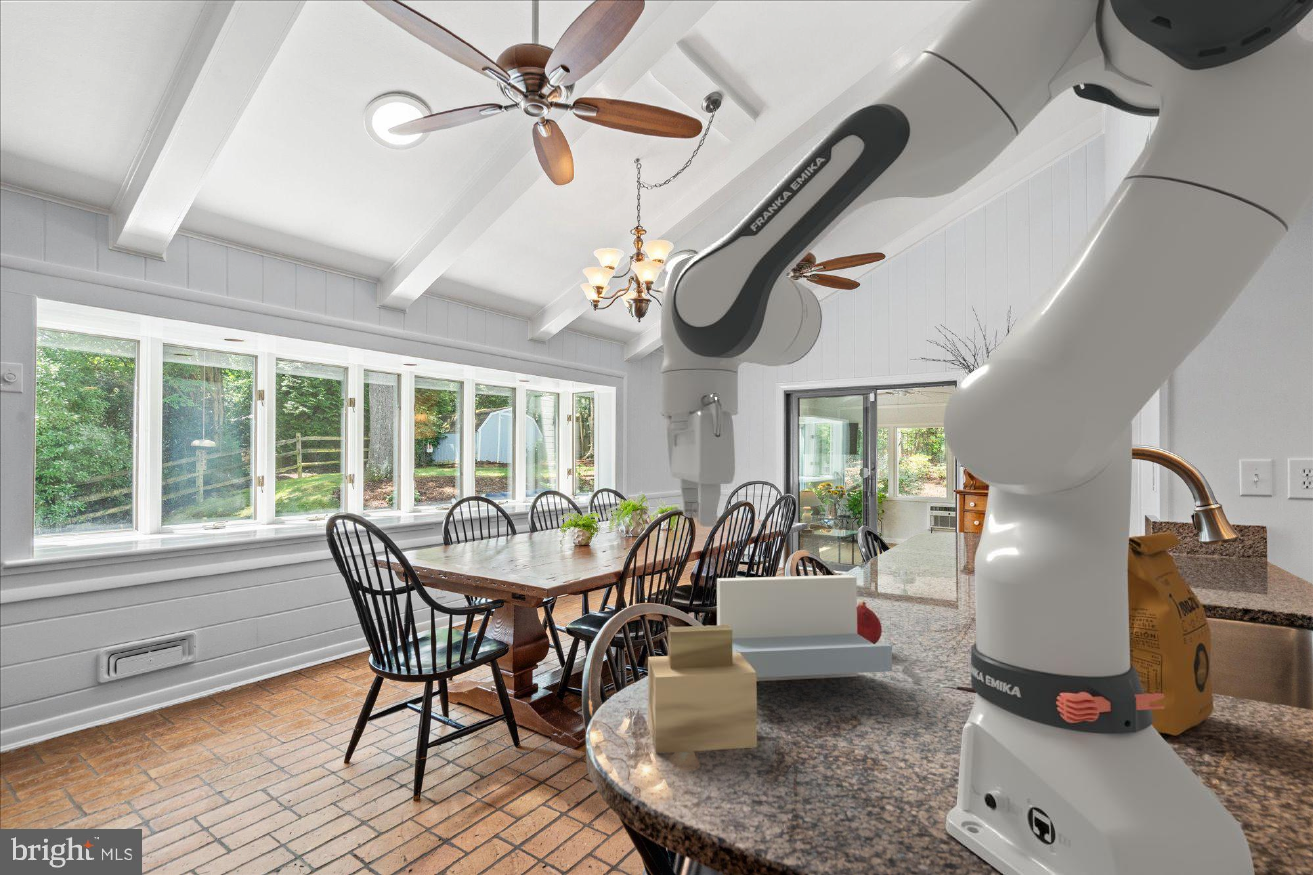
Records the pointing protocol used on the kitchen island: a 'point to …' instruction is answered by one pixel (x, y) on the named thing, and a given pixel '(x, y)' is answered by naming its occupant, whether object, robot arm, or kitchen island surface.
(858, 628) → the onion
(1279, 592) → the kitchen island surface
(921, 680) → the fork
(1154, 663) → the coffee package
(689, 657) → the stacked wooden blocks
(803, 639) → the wall shelf
